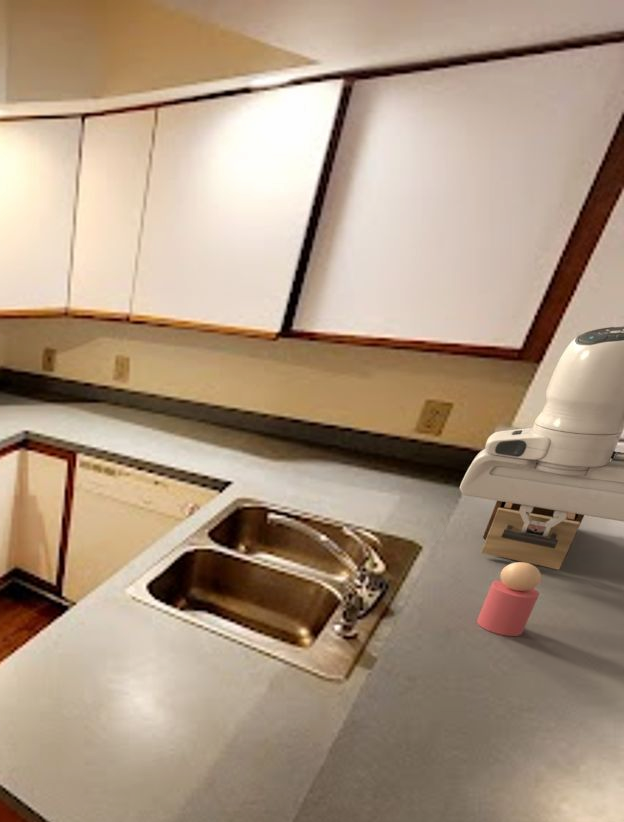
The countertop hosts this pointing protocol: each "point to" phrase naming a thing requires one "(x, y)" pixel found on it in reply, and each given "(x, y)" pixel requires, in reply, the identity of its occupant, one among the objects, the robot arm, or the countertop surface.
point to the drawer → (529, 537)
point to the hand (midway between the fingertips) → (533, 533)
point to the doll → (510, 600)
